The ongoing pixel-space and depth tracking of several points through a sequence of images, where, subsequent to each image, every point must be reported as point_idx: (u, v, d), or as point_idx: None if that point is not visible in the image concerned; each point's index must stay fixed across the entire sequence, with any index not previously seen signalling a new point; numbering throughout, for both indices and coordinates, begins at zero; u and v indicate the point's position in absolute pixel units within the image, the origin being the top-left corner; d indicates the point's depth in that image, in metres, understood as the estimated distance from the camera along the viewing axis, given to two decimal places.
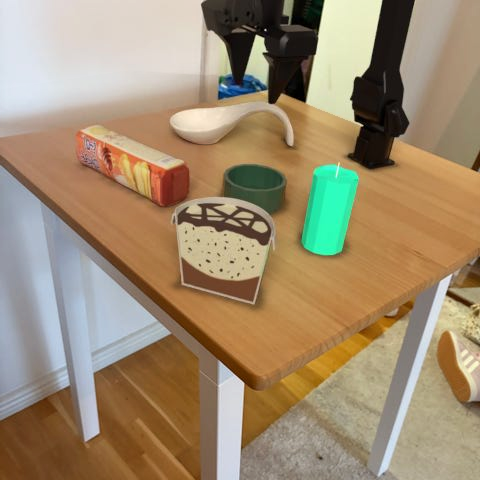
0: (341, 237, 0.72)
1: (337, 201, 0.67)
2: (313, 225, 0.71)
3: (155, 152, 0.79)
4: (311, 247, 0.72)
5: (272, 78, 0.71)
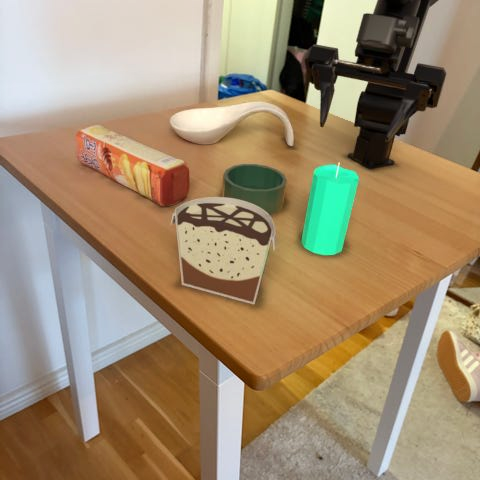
0: (341, 237, 0.72)
1: (337, 201, 0.67)
2: (313, 225, 0.71)
3: (155, 152, 0.79)
4: (311, 247, 0.72)
5: (404, 111, 0.70)
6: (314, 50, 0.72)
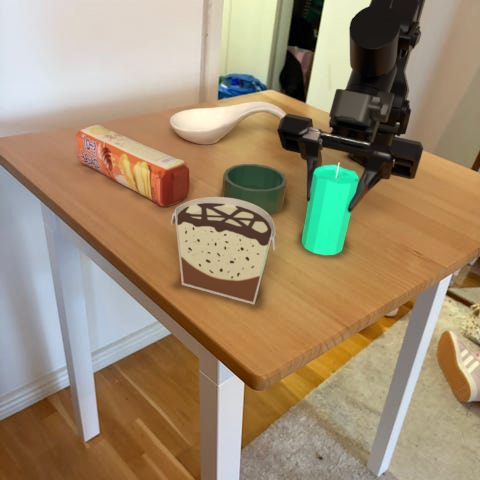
0: (341, 237, 0.72)
1: (337, 202, 0.67)
2: (313, 225, 0.71)
3: (155, 152, 0.79)
4: (311, 247, 0.72)
5: (366, 182, 0.68)
6: (287, 120, 0.69)
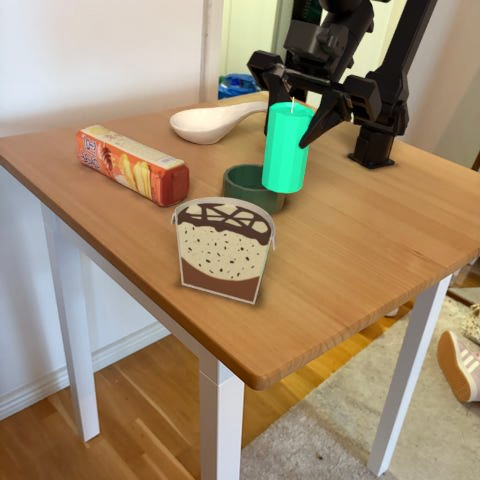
0: (295, 175, 0.72)
1: (286, 135, 0.68)
2: (267, 160, 0.72)
3: (155, 152, 0.79)
4: (266, 183, 0.74)
5: (318, 119, 0.68)
6: (255, 55, 0.71)
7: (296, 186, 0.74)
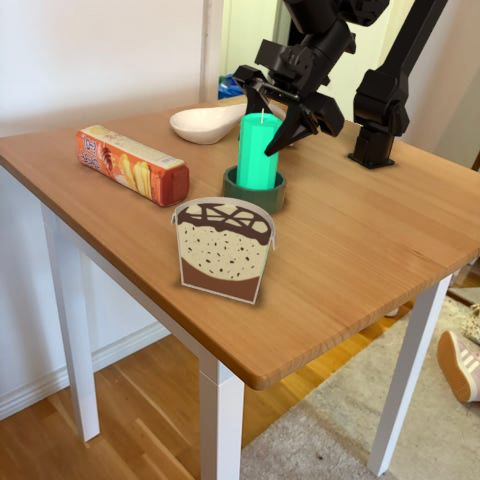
0: (262, 180, 0.78)
1: (252, 143, 0.75)
2: (239, 164, 0.79)
3: (155, 152, 0.79)
4: None
5: (283, 130, 0.74)
6: (239, 69, 0.78)
7: None
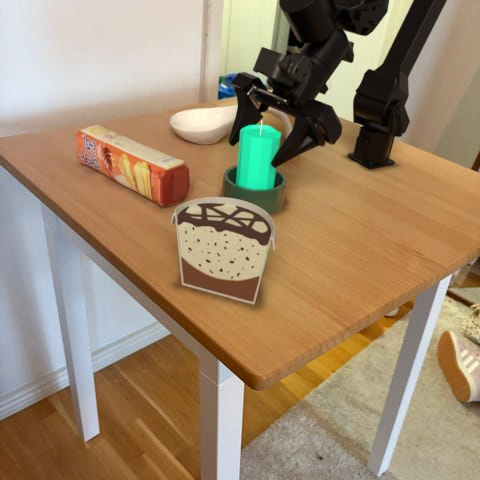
0: None
1: (251, 154, 0.76)
2: (238, 175, 0.80)
3: (155, 152, 0.79)
4: None
5: (290, 141, 0.73)
6: (238, 76, 0.79)
7: None
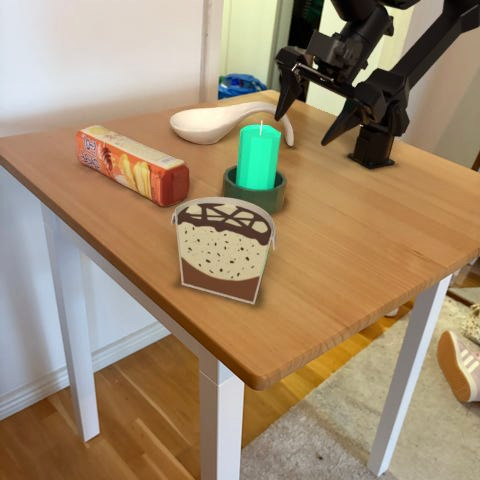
0: None
1: (251, 154, 0.76)
2: (238, 175, 0.80)
3: (155, 152, 0.79)
4: None
5: (340, 122, 0.79)
6: (282, 52, 0.81)
7: None
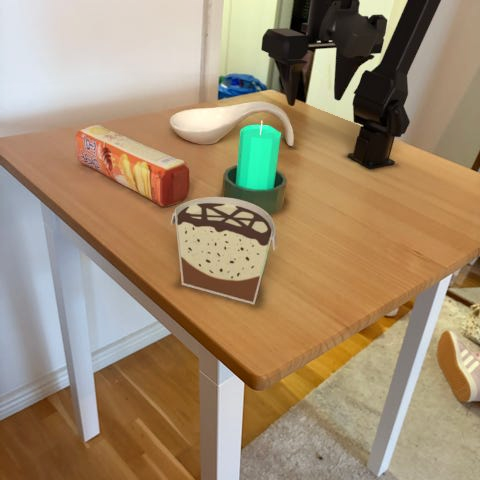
0: None
1: (251, 154, 0.76)
2: (238, 175, 0.80)
3: (155, 152, 0.79)
4: None
5: (352, 76, 0.82)
6: (292, 49, 0.71)
7: None
